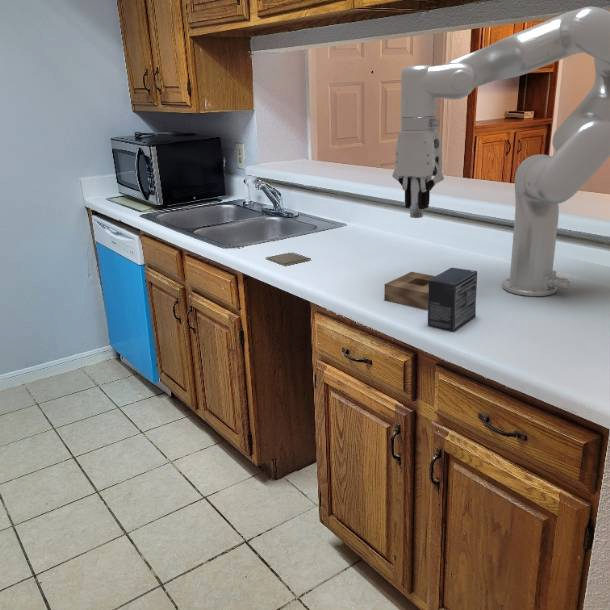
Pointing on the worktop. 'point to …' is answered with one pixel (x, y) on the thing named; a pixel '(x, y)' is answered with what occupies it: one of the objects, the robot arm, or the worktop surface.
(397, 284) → the socket block
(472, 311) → the small box
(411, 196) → the pin
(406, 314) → the worktop surface
